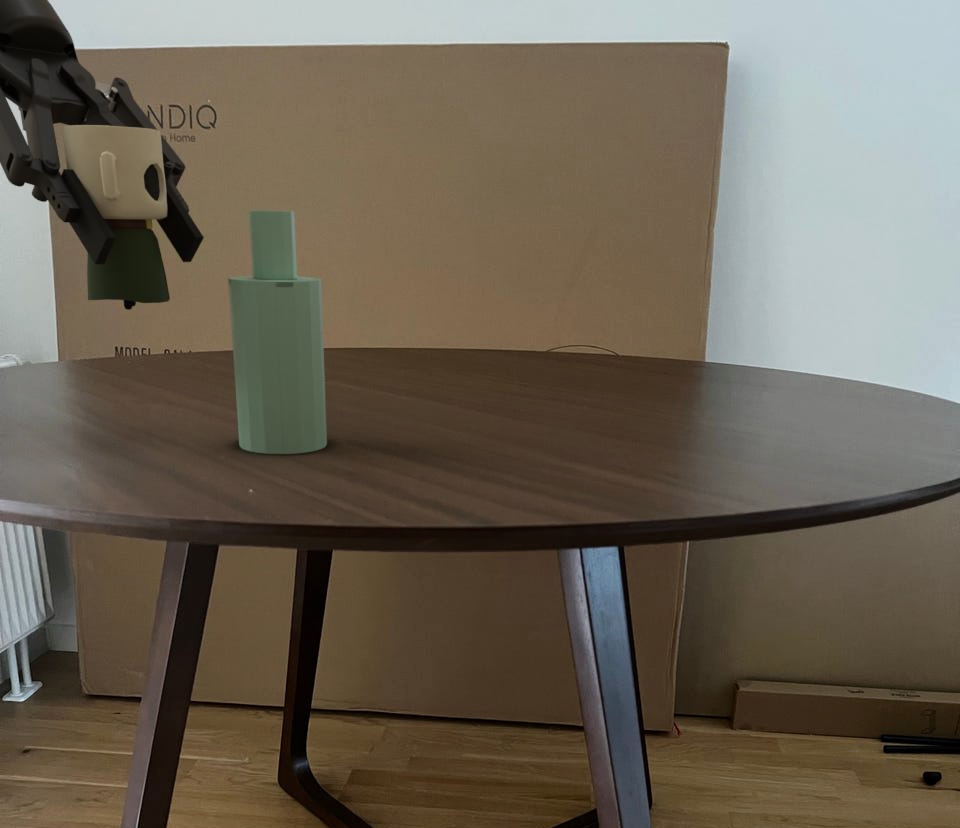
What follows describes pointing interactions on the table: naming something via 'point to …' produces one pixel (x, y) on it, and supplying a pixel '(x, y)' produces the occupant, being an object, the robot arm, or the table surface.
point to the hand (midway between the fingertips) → (150, 250)
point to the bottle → (278, 344)
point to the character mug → (123, 207)
